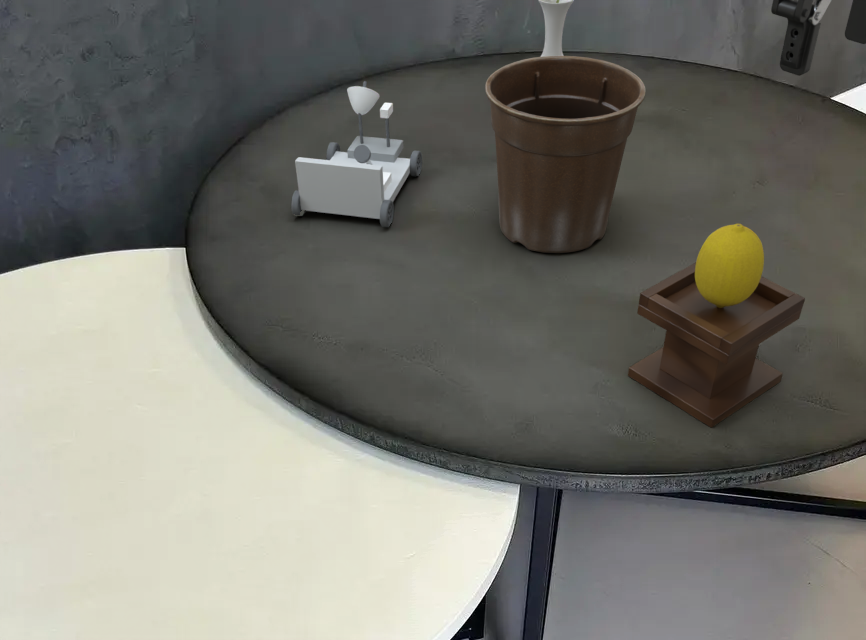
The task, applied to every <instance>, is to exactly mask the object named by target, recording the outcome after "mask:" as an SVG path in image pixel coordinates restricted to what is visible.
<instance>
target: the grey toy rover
mask: <svg viewBox="0 0 866 640" xmlns="http://www.w3.org/2000/svg"><path fill="white" fill-rule="evenodd" d="M367 84H368V82H367V81H366V80H364V81H363V82H362V86H359V85H355V86H349V87H347V89H346V91H347V96H348V99H349V102H350V103H349V104H350V105H351V106H350V107H351V108H352V110H353V111H354V112H355V114H357V117H358V131H359V135H357V136H356V137H355V138H354V140H353V141H352V142H351V144H350V145H349V146H348V149H347V150H346V151H341V146H340V144H339V143H338V142H334V141H330V142H329V143H328V146H327V148H326V149H327V150H326V159H321V158H312V157H311V158H310V157H300V156H298V157H297V158H296V159H295V160H294V166H295V172H296V181H297V187H298V188H297V189H295V191H294V192H293V194H292V197H291V202H290V203H291V207H290V208H291V213H292V215H293V214H295V215H300V212H301V211H302V210H306V211H305V212H314V213H315V212H317V213H323V214H324V213H325V214H333V215H340V216H341V215H342V216H351V217H358V218H366V219H367V218H368V219H376V220H379V223H380V226H381V227H382V228H390V227H391V226H390V224H391V223H392V224H393V221H394V215H395V206H394V201H395V200H396V197H397V196H398V194H399V193H400V191H401V188H402V187H403V185H404V184H405V182H406V180H407V178H408V177H409V176H411V177H416V176H418V177H419V176H420V175H421V173H422V169H423V153H422V151H421V150H413V151H412V152H411V154H410V157H409V158H406V157H400V155H401V153H402V151H403V149H404V139H396V138H395V139H394V138H391V137H390V122H389V121H390V120H389V119H390V117H391V115H392V114H393V112H394V103H393V102H390V101H389V102H383V104H382V105H381V107H380V108H379V118H380V119H384V121H385V135H386V136H385V138H384V137H374V136H364V130H363V129H364V128H363V117H362V116H364V115H366V114H368V113H369V112H370V111H371V110H372V109H373V108H374V106H375V105H376V103H378V100H379V99H380V98H381V97H380V93H378V92H377V91H375V90H373V89H372V88H368V87H367ZM419 174H420V175H419ZM392 224H391V225H392ZM389 226H390V227H389Z"/></svg>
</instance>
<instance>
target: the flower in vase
mask: <svg viewBox="0 0 866 640" xmlns="http://www.w3.org/2000/svg"><path fill="white" fill-rule="evenodd" d="M537 1H538V3H539V5H540V7H541V9H542V12H543V17H544V18H543V19H544V45H543V49H542V53H541V55H540V57H544V56H565V55H564V53H563V32H564V27H565V22H566V17H567V14H568V11H569V9H570V8H571V6H572V4H573V3H574V2H575V0H537Z"/></svg>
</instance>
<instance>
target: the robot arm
mask: <svg viewBox="0 0 866 640" xmlns="http://www.w3.org/2000/svg"><path fill="white" fill-rule="evenodd" d="M813 2H814V3H813ZM831 2H832V0H815V1H814V0H772V4H771V8H770V9H771V14H772V15H774V16H775V15H776V16H778V17H781V18H785V19H787V25H786V30H785V31H786V32H785V36H784V39H783V45H782V49H781V55H780V60H779V68H780V69H781V70H782V71H783V72H786V73H788V74H792V75H795V76H803V75H804V74H806V73H808V72H809V71H810V70H811V66H812V62H813V57H814V53H815V50H816V45H817V40H818V37H819V32H820V28H821V25H822V23H821V20H822V19H823V17H824V15H825V13H826V11H827V10H828V7H829V6H830V4H831ZM844 37H845V39H846V40H848V41H851V42H855V43H858V44H861V45H866V0H852V3H851V7H850V10H849V14H848V18H847V22H846V27H845V29H844Z"/></svg>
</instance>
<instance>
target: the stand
mask: <svg viewBox="0 0 866 640" xmlns="http://www.w3.org/2000/svg"><path fill="white" fill-rule="evenodd" d="M695 267H696V261H695V262H694V263H691V264H690V265H688V266H686V267H684V268H683V269H681V270H679V271H677V272H676V273H674V274H672V275H670V276H668V277H666V278H665V279H663V280H661V281H660V282H657V283H655V284H654V285H652V286H650V287H649V288H647V289H645V290H643V291H640V293H639V299H638V306H637V313H636V314H638V315H639V316H640V317H643V318H644V319H646V320H648V321H649V322H651V323H652V324H655V325H656V326H658V327H660V328H662V329H663V330H665V336H664V340H663V341H664V342H663V346H662V347H661V348H659V349H658V350H656V351H654V352H653V353H651V354H649V355H647V356H645V357H644V358H643V359H640V360H639V361H637V362H636V363H634V364H632V365H631V366H629V367H628V371H627V376H628V377H629V378H631V379H633V380H634V381H636V382H637V383H639V384H640V385H642V386H643V387H644V388H646V389H648V390H650V391H652V392H653V393H655V394H656V395H658V396H659V397H661V398H663V399H664V400H666V401H668V402H669V403H671V404H672V405H674V406H676V407H677V408H679V409H680V410H682V411H684V412H685V413H687V414H688V415H690V416H692V417H693V418H694V419H696V420H698V421H700V422H701V423H703V424H704V425H705V426H708V427H709V428H713V427H715V426H717V424H720V423H721V422H722V421H724V420H725V419H727V418H728V417H730V416H731V415H733V414H734V413H736V412H738V411H739V410H740V409H742V408H744V407H745V406H746V405H748V404H749V403H751V402H753V401H754V400H755V399H757V398H759V397H760V396H761V395H763V394H764V393H766V392H767V391H769V390H770V389H772V388H773V387H776V385H778V384H779V383H781V382H782V379H783V376H784V373H783V372H782V371H780V370H778V369H776V368H774V367H773V366H771V365H769V364H768V363H766V362H764V361H762V360H760V359H759V358H757V355H758V350H759V348H760V344H762V343H764V342H765V341H766V340H768V339H769V338H771V337H772V336H774V335H776V334H778V333H780V332H781V331H783V330H784V329H786V328H787V327H789V326H790V325H792V324H794V323H795V322H797V321H798V320H800V317H801V314H802V310H803V307H804V304H805V301H806V297H804V296H802V295H800V294H798V293H796V292H794V291H792V290H790V289H788V288H786V287H784V286H782V285H780V284H778V283H776V282H774V281H772V280H770V279H768V278H766V277H764V276H762V275H761V279H760V281H759V284H758V286H757V287H756V289H755V290H754V292H753V293H752V294H751V295H750V296H749V297H748V298H747V299H746V300H744V301H743V302H741V303H739V304H736V305H733V306H725V307H723V308H718V307H717V306H716V305H714V304H712V303H710V302H709V301H707V300H706V299H705V298H704V297H703V296H702V295H701V294H700V292H699V290H698V288H697V285H696V281H695Z"/></svg>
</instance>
